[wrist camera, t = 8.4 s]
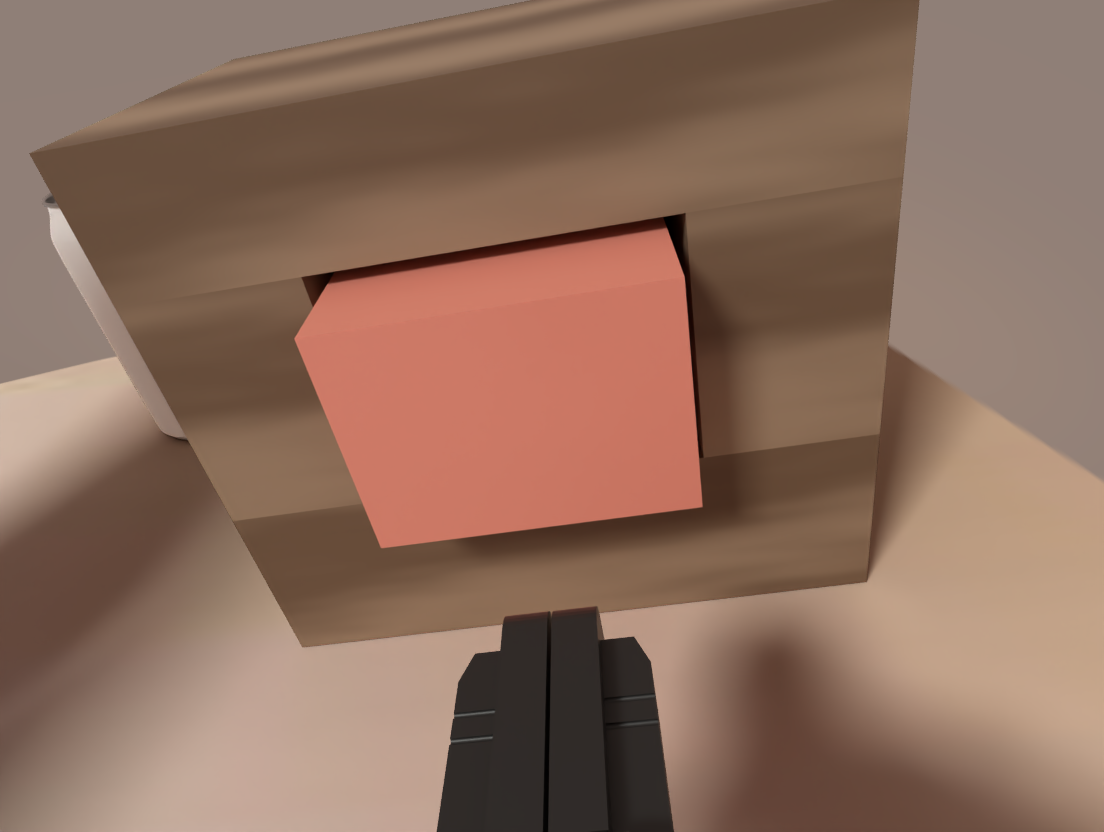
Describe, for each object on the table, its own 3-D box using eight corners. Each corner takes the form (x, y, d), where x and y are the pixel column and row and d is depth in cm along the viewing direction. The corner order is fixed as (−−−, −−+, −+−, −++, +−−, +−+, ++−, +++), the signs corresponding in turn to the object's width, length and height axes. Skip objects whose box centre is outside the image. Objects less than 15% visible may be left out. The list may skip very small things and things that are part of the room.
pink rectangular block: (702, 507, 18) (684, 276, 14) (380, 547, 19) (293, 338, 15) (669, 377, 23) (650, 183, 19) (417, 414, 24) (357, 234, 20)
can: (291, 363, 42) (199, 147, 35) (278, 424, 37) (167, 183, 30) (176, 391, 42) (61, 178, 35) (146, 457, 36) (4, 220, 30)
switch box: (866, 581, 23) (920, -17, 14) (302, 647, 24) (29, 153, 16) (770, 377, 33) (766, -47, 24) (374, 434, 34) (233, 59, 25)
